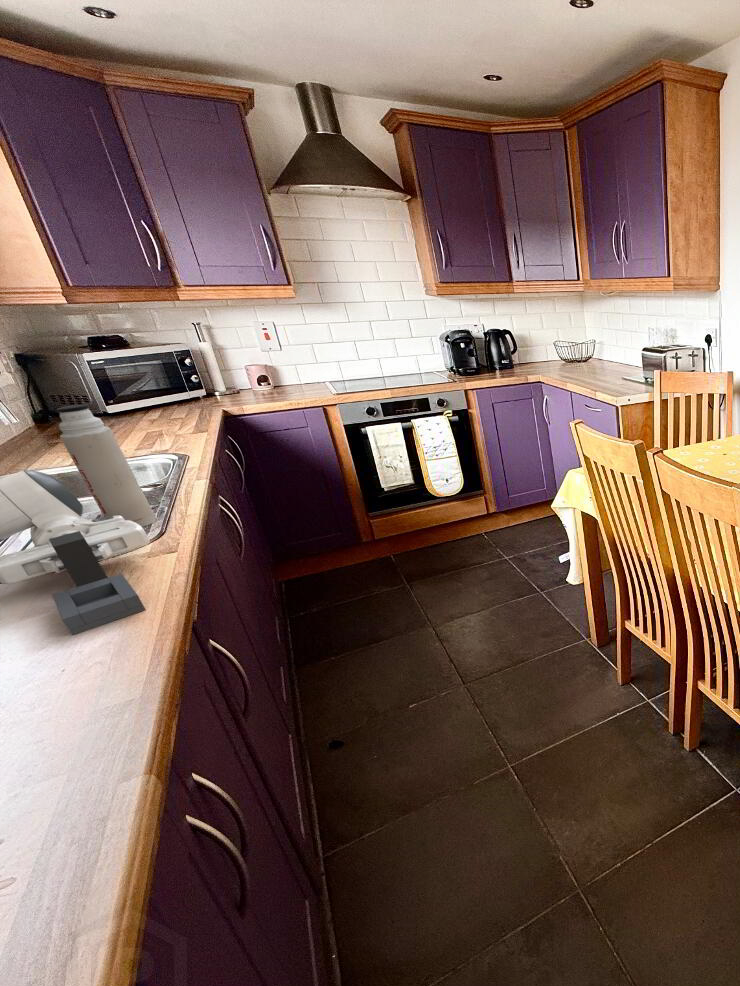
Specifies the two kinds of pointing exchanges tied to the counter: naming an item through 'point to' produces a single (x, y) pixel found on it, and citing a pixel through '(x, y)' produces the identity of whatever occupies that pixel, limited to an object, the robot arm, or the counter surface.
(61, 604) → the slotted base pad
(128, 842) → the counter surface
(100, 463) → the thermos bottle
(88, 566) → the dark grey rectangular block
